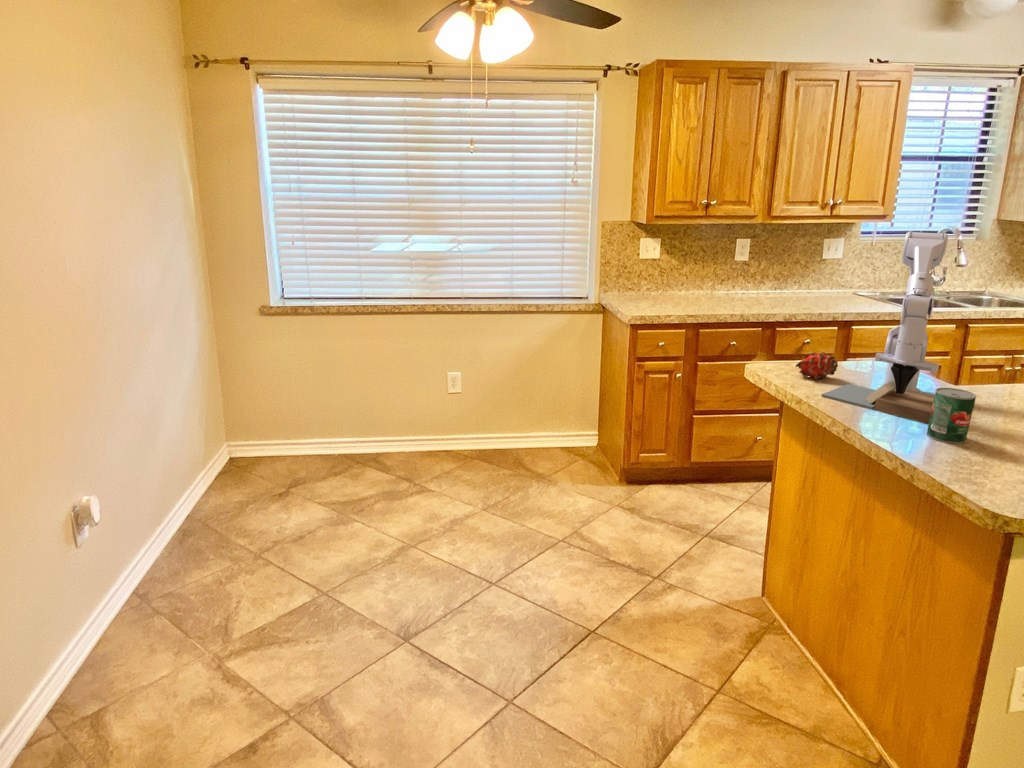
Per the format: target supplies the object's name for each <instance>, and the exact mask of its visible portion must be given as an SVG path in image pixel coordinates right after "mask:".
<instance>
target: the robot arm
mask: <svg viewBox="0 0 1024 768" xmlns="http://www.w3.org/2000/svg"><path fill="white" fill-rule="evenodd" d="M948 239H949V235H948V234H947V232H943V233H939V232H938V233H937V232H917V231H916V232H915V231H908V232H906V233H905V237H904V244H903V247H902V256H901V260H902V261H901V262H902V264H903V265H905V266H906V267H908V272H909V277H908V278H907V282H906V283H907V285H906V292H905V296H904V297H903V299H902V304H901V310H900V324H899V325H897V326H895V327H893V328H890V329H889V330H890V331H888V335H887V338H886V342H885V347H884V348H885V349H884V352H883V353H882V352H877V353H875V358H874V361H875V362H883V363H887V366H886V369H885V377H884V381H883V385H884V384H887V383H889V382H891V381H894V380H895V385H896V393H898V394H903V393H905V390H906V389H910V390H915V391H919V392H921V388H917V386H918V382H919V377H920V373H921V371H926V372H930V373H933V374H936V373H938V372H939V368H940V367H939V366H940V364H938V363H934V362H930V361H926V360H925V359H926V355H927V349H928V344H929V343H928V340H929V336H928V332H926V331H927V326H928V320H930V319H931V316H932V314H933V310H934V304H935V303H934V294H933V288H934V277H933V275H931V274H930V272H931V270H932V269H934V268H937V267H939V266H940V264H941V263H942V261H943V258H944V256H945V254H946V251H947V250H946V249H947V246H948V245H947V244H948ZM927 316H928V317H927ZM927 318H928V319H927ZM880 387H881V386H879V387H877V388H876V390H877V389H878V388H880Z"/></svg>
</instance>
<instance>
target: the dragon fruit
mask: <svg viewBox="0 0 1024 768" xmlns="http://www.w3.org/2000/svg"><path fill="white" fill-rule="evenodd" d="M821 353H822V354H821ZM821 353H817V352H814V351H813V352H812V353H811V354H805V356H804V357H803V358H802V359H801V360H800V361H799V362H797V364H796V365H795V368H797V367H798V369H800V370H799V374H801V376H804V377H807V376H810V377H809V378H814V379H815V380H818V379H821V380H822V379H826V377H827V376H833V375H835V372H836V371H837V369H838V367H839V365H838V360H836V359H835V357H834V356H831V355H830V354H829V355H827V354H826V353H825V352H823V351H821Z"/></svg>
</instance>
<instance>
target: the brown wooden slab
mask: <svg viewBox="0 0 1024 768" xmlns="http://www.w3.org/2000/svg"><path fill="white" fill-rule="evenodd" d="M934 397H935V394H931V393H927V392H924V391H923V392H922V391H915V390H910V389H906V390H905V393H903V394H898V393H896V390H895V391H893V392H891V393H888V394H886V395H884V396H882V397H879V398H877V399H876V402H875V407H874V409H873V410H874V411H876V412H877V411H878V412H881V413H884V414H888V415H893V416H896V417H900V418H904V419H907V420H911V421H916V422H920V423H923V424H927V425H929V420H930V416H931V411H932V406H933V402H934Z"/></svg>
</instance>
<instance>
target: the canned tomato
mask: <svg viewBox="0 0 1024 768" xmlns="http://www.w3.org/2000/svg"><path fill="white" fill-rule="evenodd" d="M934 395H935V397H934V402H933V406H932V411H931V416H930V420H929V424H927V425H928V426H927V431H926V436H927V437H929V438H930V439H932V440H934V441H937V442H941V443H946V444H951V445H952V444H954V445H958V444H959V445H960V444H964V443H966V442H967V437H968V433H969V428H970V424H971V419H972V415H973V412H974V407H975V403H976V398H977V395H976V394H975V393H973V392H971V391H968V390H965V389H960V388H953V387H939V388H936V389H935V393H934Z"/></svg>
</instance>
